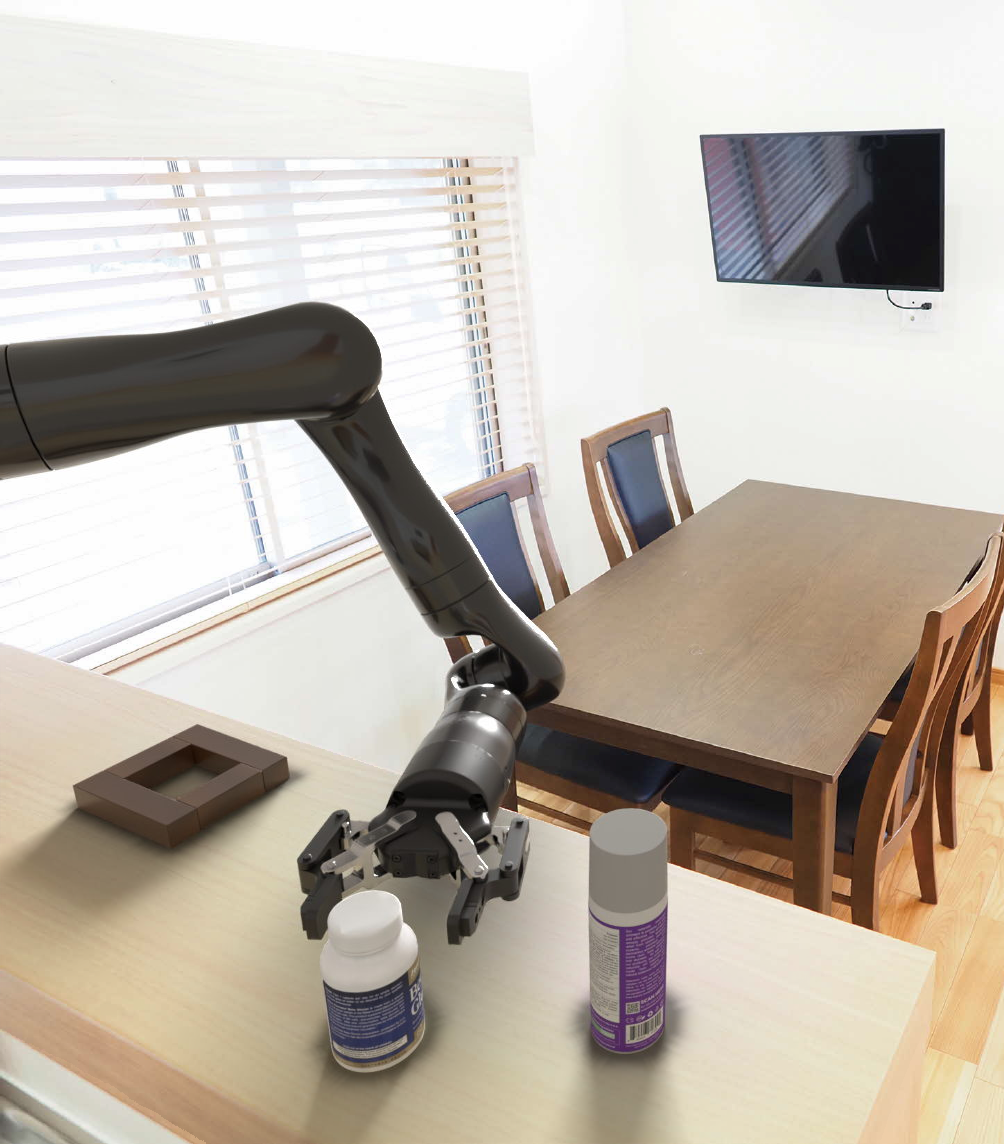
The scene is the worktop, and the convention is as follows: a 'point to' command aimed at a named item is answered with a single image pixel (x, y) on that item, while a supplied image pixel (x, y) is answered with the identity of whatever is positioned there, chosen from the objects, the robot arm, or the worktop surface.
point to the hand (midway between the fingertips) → (382, 931)
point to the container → (628, 929)
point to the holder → (172, 821)
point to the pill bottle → (371, 983)
